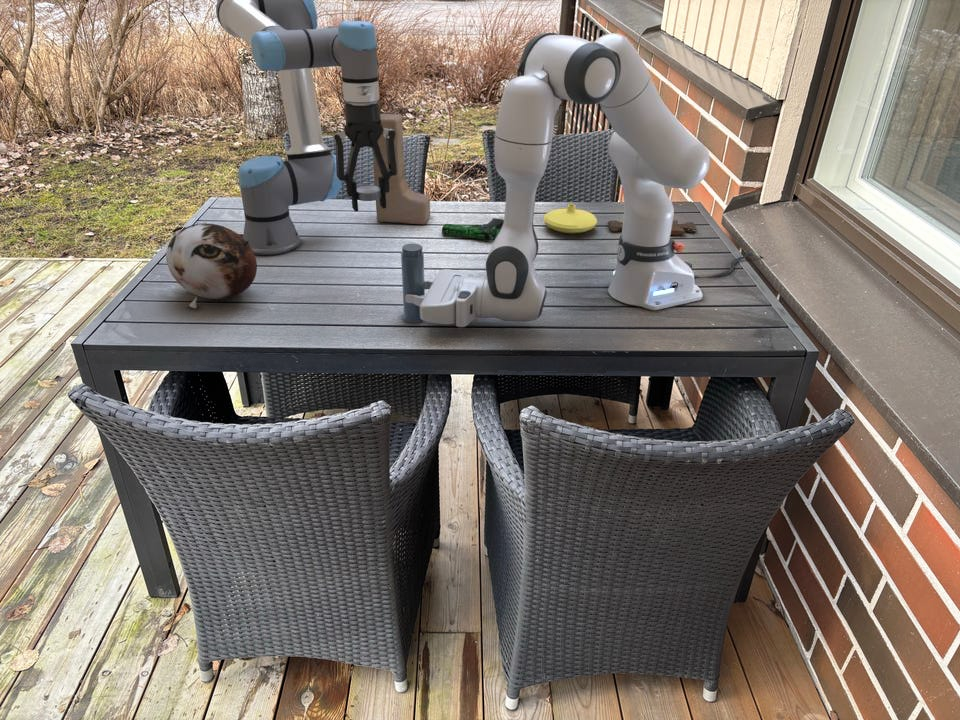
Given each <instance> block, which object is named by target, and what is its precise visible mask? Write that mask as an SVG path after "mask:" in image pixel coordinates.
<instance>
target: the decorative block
mask: <svg viewBox="0 0 960 720" xmlns="http://www.w3.org/2000/svg"><path fill="white" fill-rule="evenodd" d="M380 115H381V124H382V126H383V128H386V129H389V128H391V129H393V130H394V131H395V133H396V134H395V138H394V149H395V159H396V169H397V174H396V175H395V176H394V175H393V176H391V177H390V179H389V189H390V190H389V192H388V193H385V194H386V208H382V207H381V205H380V199H378V200H375V210H376V221H377V222H380V223H396V224H412V225H426V224H427V222H428V220H429V219H430V217H431V197H430V195H428V194H425V193H419V192H416V191H414V190H413V189H411V188H410V187H409V185H408V182H407V180H406V176H405V157H404V156H405V155H404V154H405V153H404V129H403V116H402V114H399V113H398V114H397V113H380ZM378 145H379V148H380V152H381V154H382V157H383V160H384V163H385V165H386V168H387V170H389V167H388V157H387V148H386V138H385V137H384V134H383V133H382V135H381V137H380V138H379V140H378ZM372 165H373V178H374V179H373V180H374V186H377V187H379V179H378V177H382V175H381V172H380V169H379V166H378V164H377V161H376V158H375V156H374V153H373V152H372Z"/></svg>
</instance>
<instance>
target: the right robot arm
mask: <svg viewBox="0 0 960 720" xmlns="http://www.w3.org/2000/svg"><path fill="white" fill-rule="evenodd" d="M516 73H517V76H516V77H514V78H512V79H510V80H509V81H508V82H507V84H506V85H505V86H504V89H503V93H502V96H501V100H500V104H499V107H498V113H497V116H496V117H497V118H496V125H495V130H494V131H495V133H494V143H493V145H494V146H493V151H494V155H493V156H494V165H495V166H494V167H495V170H496V172H497V174H498V175H499V177H501V178H502V179H503V180H504V182H505V188H506V192H505V204H504V206H505V207H504V217H503V220H504V222H503V225H502V227H501V228H500V230H499V231H498V233H497V235H496V237H495V238H494V239H493V242H492V244H491V245H492V246H491V248H490V250H489V252H488V254H487V256H486V259H485V272H486V277H479V276H478V277H477V276H474V275H473V276H472V275H470V274H469V273H468V272H466V271H461V270H456V269H448V268H445V269H440V270H439V271H438V272H437V274H436V276H435V277H434V279H424V282H425V291H426V290H428V291H426V293H425V296H422V295H421V297H420V296H417V295H415V293H407V295H406V296H405V301H406V302H407V303H413V304H415V305H417V306H419V307H420V318H421V319H422V320H423V321H422V322H426V323H431V324H438V325H453V324H455V326H456V327H457V328H465V327H466V326H468V325H470V324H471V323H472V322H473V321H475V320H477V319H490V318H491V319H497V320H500V321H503V322H504V321H505V322H518V323H519V322H521V323H522V322H523V323H524V322H533V321H536V320H537V319H539V318H540V317H541V315H542V312H543V309H544V305H545V301H546V298H547V291H548V290H547V287H546V286H545V285H544V284H543V282H542V281H541V279H540V277H539V275H538V272H537V270H536V268H535V267H536V266H535V264H534V262H535V260H536V258H537V256H538V253H539V240H538V236H537V234H536V230H535V227H534V215H535V206H536V197H537V196H536V195H537V189H538V187H539V184H540V182H541V180H542V179H543V177H544V175H545V171H546V170H547V166H548V163H549V159H550V155H551V151H552V143H553V136H554V127H555V126H554V122H555V117H556V113H557V112H558V109H559V107H560V105H561V104H562V103H563V101H562V100H565V101H568V102H569V101H570V102H574V103H576V104H577V105H584V106H585V105H586V106H590V105H596V104H599V105H600V107H601V110H602V111H603V113H604V115H605V117H606V119H607V121H608V123H609V124H610V126H611V128H612V130H613V133H612V135H611V136H610V139H609V142H608V149H607V151H608V157H609V158H610V161H611V162H612V163H613V165H614V167H615V168H616V171H617V173H618V177H619V181H620V184H621V188H622V193H623V194H622V195H623V201H624V202H623V217H622V223H623V228H622V231H621V234H620V236H619V238H618V239H619V240H618V245H617V254H616V255H617V257H616V259H617V262H616V264H615V265H616V266H615V269H614V271H613V274H612V275H613V276H612V279H611V281H610V284H609V286H608V289H607V293H608V294H609V296H611V297H612V299H615V301H618V302H620V303H623V304H626V305H631V306H636V307H640V308H641V307H642V308H644V309H646V310H650V311H659V310H663V309H667V308H671V307H677V306H680V305H686V304H689V303H694V302H697V301H702V300H703V292H702V289H701V288H700V287H699V286H698V285H697V284H696V283H695V279H716V278H720V277H724V276H726V275H729V274H731V273H732V272H733V271H734V268H735V264H736V263H738V262H739V261H742V260H744V259H746V258H748V257H752V256H754V255H753V254H752V253H753V252H750V253H747V254H744V255H742V256H743V257H741V256H739V257H737V258H735V259H734V260H733V261H732V262H731V265H730V269H728V270H726V271H723V272H720V273H717V274H714V275H709V276H697V275H695V273H694V271H693V264H692V263H690V262H688V261H685V260H683V259H682V258H680V257H679V256H678V255H677V254H676V253H678V254H681V253H683V251H684V250H685V245H684V244H683V243H681V242H680V241H677V242H676V240H674V239H673V238H671V235H672V234H671V229H672V222H673V220H674V215H675V208H674V204H673V202H672V201H671V199H670V197H669V196H668V194H667V192H666V189H665V187H666V188H671V189H679V190H680V189H681V190H690V189H693V188H695V187H697V186H698V185H699V184H701V182H702V181H703V180H704V179H705V177H706V175H707V174H708V171H709V169H710V162H711V158H710V157H711V156H710V152H709V149H708V148H707V147H706V146H705V145H704V144H703V143H701V142H700V141H698V140H697V139H696V138H695V137H694V136H693V135H692V134H691V133H690V132H689V131H688V130H687V129H686V128H685V127H684V126H683V125H682V123H681V122H680V121H679V119H678V118H677V117H676V116H675V115H674V113H672V112H671V110H670V109H669V108H668V107H667V105H666V104H665V102H664V101H663V99H662V97H661V95H660V93H659V91H658V88H657V87H656V85H655V83H654V81H653V79H652V76H651V74H650V72H649V70H648V68H647V66H646V64H645V62H644V60H643V59H642V57H641V56H640V54H639V53H638V50H637V49H636V48H635V47H634V44H632V43H631V41H630V40H629V39H628V38H627V37H626V36H625V35H623V34H620V33H616V32H613V33H606V34H604V35H602V36H600V37H598V38H596V39H595V40H594V41H593V42H592V41H590V40H587V39H585V38H582V37H579V36H574V35H566V34H558V33H557V32H544V33H541V34H540V33H539V34H538V35H536V36H534V37H532V38H531V39H530V40H529V41H528V42H527V44H526V46H524V49H523V51H522V54H521V57H520V62H519V65H518V67H517V71H516ZM675 252H676V253H675Z"/></svg>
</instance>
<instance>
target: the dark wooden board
mask: <svg viewBox="0 0 960 720" xmlns="http://www.w3.org/2000/svg"><path fill="white" fill-rule="evenodd" d="M607 224H608V229H609V231H610V232H613V233H615V232H616V233H617V232H622V228H623V221H622V222H621V221H619V220H615V219H614V220H608V221H607ZM682 228H683V229H682ZM688 229H689V230H688ZM693 230H696V231H697V228H696V224H695V223H694V222H691V221H690V222H683V223H682V222H681V223H679V221H678V220H674V219H673V222H672V229H671V235H685V233H686V232H687V233H696V231H693Z"/></svg>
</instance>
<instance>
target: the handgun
mask: <svg viewBox="0 0 960 720" xmlns="http://www.w3.org/2000/svg"><path fill="white" fill-rule="evenodd" d="M503 222H504V218H497V217H492V219H491V220H490V221H489V222H488V223H483V224H482V225H479V224H472V225H459V224H453V223H445V224H443V226H442V227H441V235H446V236H454V237H462V238H469V239H470V238H471V239H474V240H479V241H484V242H491V241H492V240H493V241H494V240H495V237H496V235H497V233H498V231H499V230H500V228H501V227H502V225H503Z"/></svg>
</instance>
